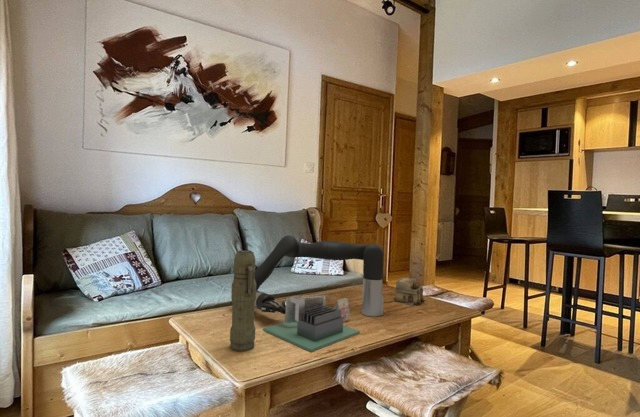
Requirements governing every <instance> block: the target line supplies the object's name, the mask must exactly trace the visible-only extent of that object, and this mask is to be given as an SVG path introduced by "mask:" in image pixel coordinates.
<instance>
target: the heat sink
mask: <svg viewBox="0 0 640 417" xmlns="http://www.w3.org/2000/svg"><path fill="white" fill-rule="evenodd" d="M289 298H290V302H292V303H295V304H296V306H295V320H296V321H297V322H296V323H285V321H283V322H279V323H275V324H273V325H269V326H266V327H263V328H262V331H263V332H266V333H268V334H270V335H272V336H274V337H276V338H279V339H281V340H282V341H285V342H287V343H289V344H291V345H294V346H296V347H299V348H301V349H303V350H305V351H307V352H310V353H313V352H315V351H319V350H320V349H323V348H326V347H329V346H331V345H333V344H336V343H338V342H341V341H344V340H346V339H349V338H351V337H355V336H357V335H358V334H360V332H361V331H360V330H359V329H358V330H357V329H355V328H352V327H350V326H347V325H344V322H343V317H341V309H340V310H338V308H335V309H334V306H332V307H331V306H330V305H327V304H326V305H323V306H320V307H316V308H313V309H309V310H305V311H304V309H305V298H302V296H299V295H292V296H290V297H289Z"/></svg>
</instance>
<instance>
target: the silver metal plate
mask: <svg viewBox="0 0 640 417" xmlns="http://www.w3.org/2000/svg"><path fill="white" fill-rule="evenodd" d="M301 297H302V296H301ZM302 298H305V309H304V311H305V310H309V309H313V308H316V307H320V306H323V305H327V295H315V297H311V296H303V297H302ZM284 301H285V314H284V322H285V323H296V322H297V321H296V320H295V306H296V304H295V303H292V302H290V297H289V298H288V297H287V298H285V299H284Z"/></svg>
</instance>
